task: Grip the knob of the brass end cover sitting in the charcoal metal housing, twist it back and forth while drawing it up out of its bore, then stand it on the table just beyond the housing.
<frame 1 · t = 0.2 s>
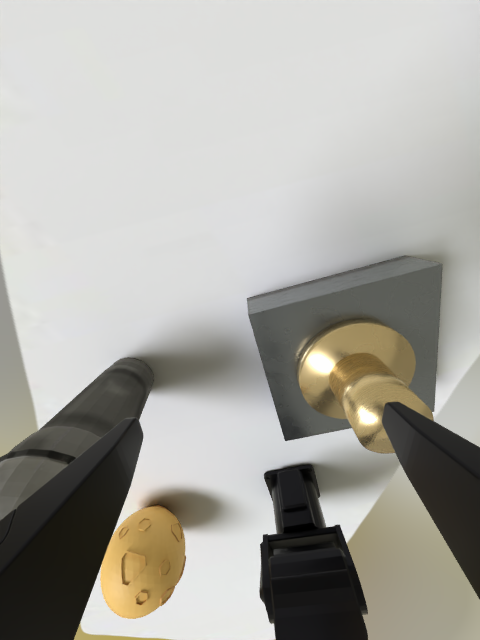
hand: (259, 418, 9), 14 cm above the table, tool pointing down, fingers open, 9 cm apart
housing: (332, 344, 23), on the table
end cover: (337, 351, 22), point 1 cm above the table, touching housing
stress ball: (159, 509, 35), on the table
beverage cup: (133, 374, 25), on the table
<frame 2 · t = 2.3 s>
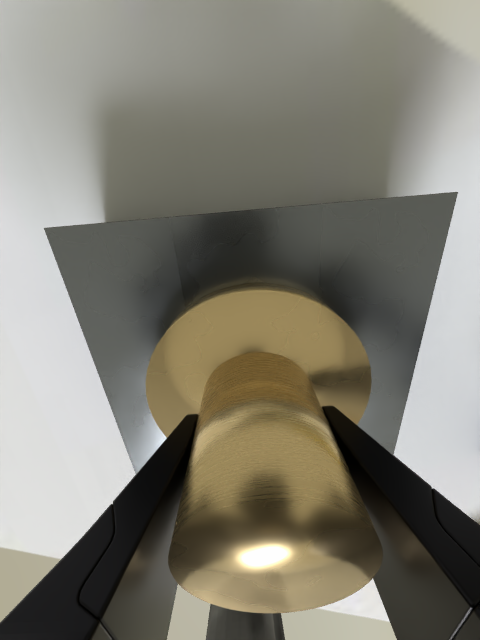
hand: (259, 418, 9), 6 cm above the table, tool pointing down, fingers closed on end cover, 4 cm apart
housing: (251, 339, 14), on the table
end cover: (253, 350, 13), point 1 cm above the table, touching gripper, housing
beverage cup: (244, 533, 23), on the table
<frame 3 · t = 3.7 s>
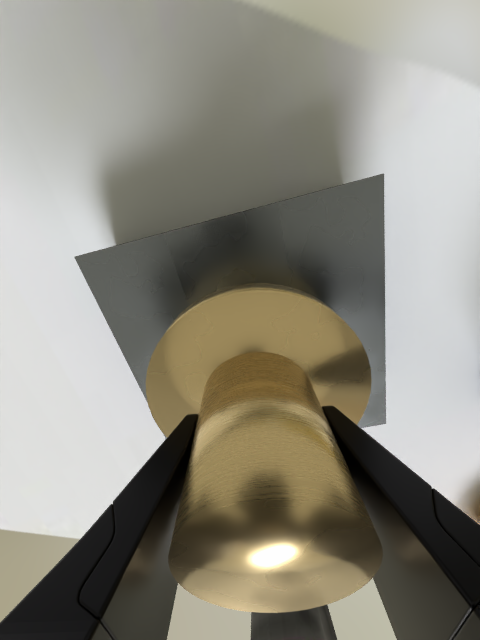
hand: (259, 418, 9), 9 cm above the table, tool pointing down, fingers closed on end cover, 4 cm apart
housing: (250, 323, 17), on the table
end cover: (253, 350, 13), point 4 cm above the table, touching gripper
beverage cup: (276, 504, 25), on the table
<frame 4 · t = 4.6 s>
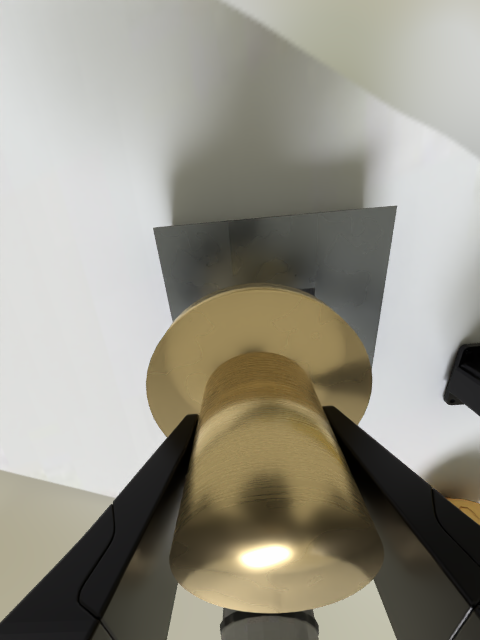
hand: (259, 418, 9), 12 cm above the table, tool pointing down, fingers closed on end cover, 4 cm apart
housing: (269, 308, 20), on the table
end cover: (253, 350, 13), point 7 cm above the table, touching gripper
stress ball: (441, 501, 30), on the table
beverage cup: (258, 473, 28), on the table
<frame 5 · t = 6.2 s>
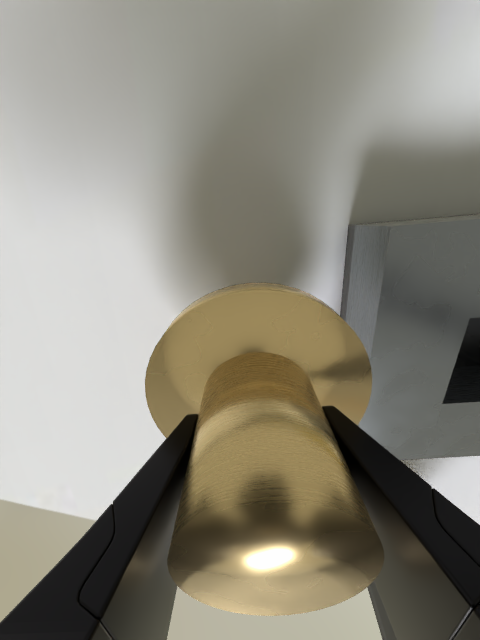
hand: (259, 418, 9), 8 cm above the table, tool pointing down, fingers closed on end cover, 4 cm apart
housing: (443, 328, 16), on the table
end cover: (253, 350, 13), point 3 cm above the table, touching gripper
beverage cup: (370, 514, 24), on the table
when the fingers open (6 cm above the table, at t = 7.2 s): end cover drops 2 cm, on the table.
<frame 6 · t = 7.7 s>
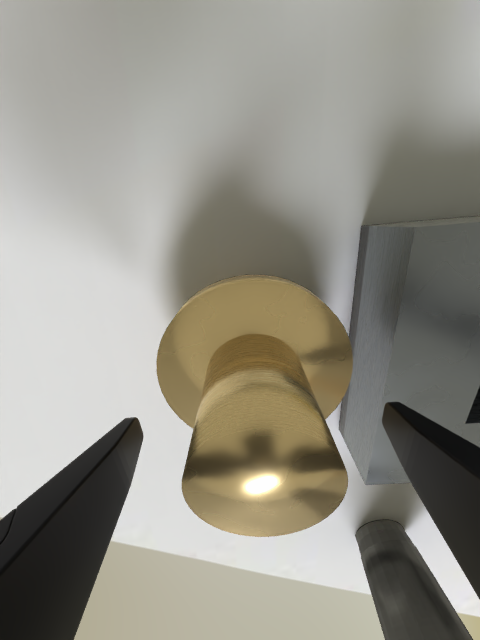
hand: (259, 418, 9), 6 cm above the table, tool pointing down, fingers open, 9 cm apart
housing: (463, 338, 14), on the table
end cover: (250, 338, 14), on the table
beverage cup: (378, 531, 23), on the table
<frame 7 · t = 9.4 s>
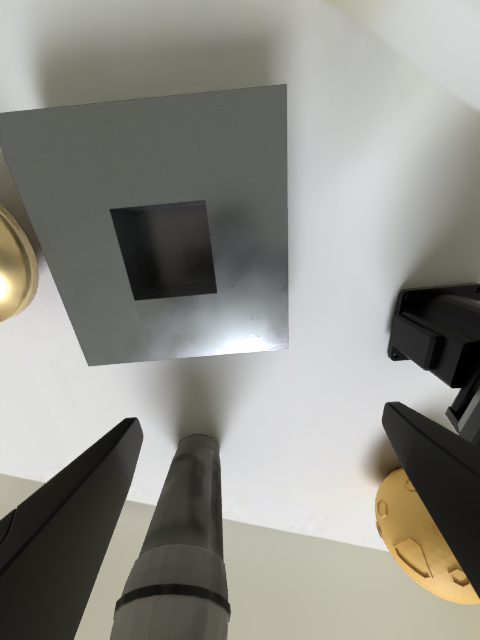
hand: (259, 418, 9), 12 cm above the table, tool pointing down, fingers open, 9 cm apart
housing: (181, 247, 17), on the table
end cover: (0, 249, 17), on the table
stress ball: (398, 473, 28), on the table
beverage cup: (198, 448, 26), on the table
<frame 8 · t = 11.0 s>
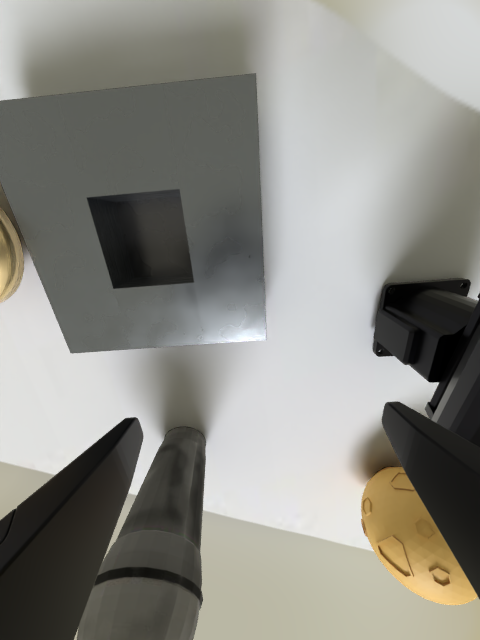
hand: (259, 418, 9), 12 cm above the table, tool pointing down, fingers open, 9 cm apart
housing: (164, 238, 18), on the table
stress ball: (387, 472, 28), on the table
beverage cup: (185, 440, 26), on the table
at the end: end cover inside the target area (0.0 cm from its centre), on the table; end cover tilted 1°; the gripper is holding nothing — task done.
